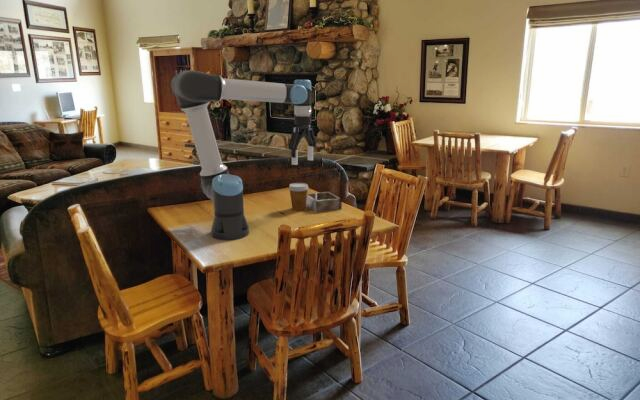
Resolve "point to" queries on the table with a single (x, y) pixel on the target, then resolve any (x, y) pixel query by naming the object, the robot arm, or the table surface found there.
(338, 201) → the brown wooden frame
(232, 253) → the table surface
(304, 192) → the disposable coffee cup
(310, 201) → the gauge plunger
